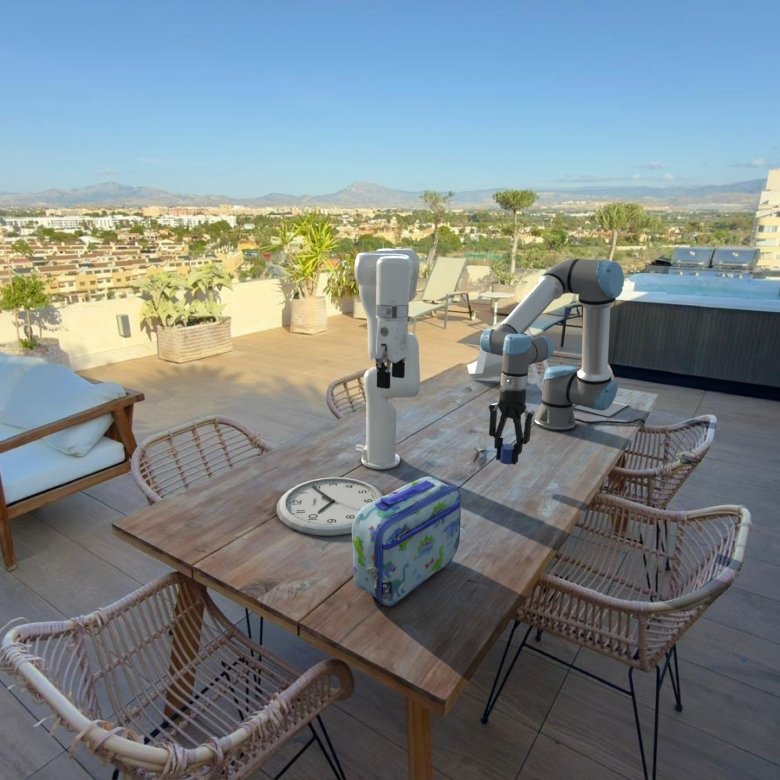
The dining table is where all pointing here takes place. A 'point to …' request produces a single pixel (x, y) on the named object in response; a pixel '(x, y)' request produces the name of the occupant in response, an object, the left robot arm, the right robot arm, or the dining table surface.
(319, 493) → the wall clock
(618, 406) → the invitation card
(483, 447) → the fork
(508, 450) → the can
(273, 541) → the dining table surface
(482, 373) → the white plastic object
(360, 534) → the lunch box
